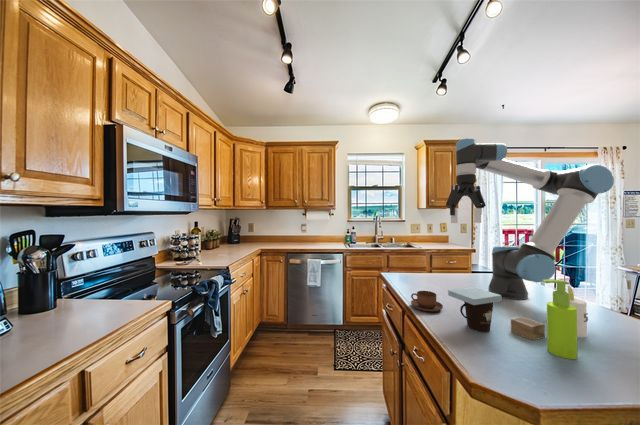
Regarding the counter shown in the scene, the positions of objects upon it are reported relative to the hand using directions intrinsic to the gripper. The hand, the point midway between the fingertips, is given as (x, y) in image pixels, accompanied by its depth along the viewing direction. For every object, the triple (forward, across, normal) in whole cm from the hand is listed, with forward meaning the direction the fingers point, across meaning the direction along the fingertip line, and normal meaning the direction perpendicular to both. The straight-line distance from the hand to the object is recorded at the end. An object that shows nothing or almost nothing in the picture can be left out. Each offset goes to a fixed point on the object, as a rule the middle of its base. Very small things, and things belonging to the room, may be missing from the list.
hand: (466, 223), depth 107 cm
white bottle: (+35, -8, +32) cm, 48 cm away
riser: (+35, +7, +28) cm, 45 cm away
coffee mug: (+35, +19, +19) cm, 44 cm away
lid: (+25, +19, +19) cm, 36 cm away
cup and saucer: (+35, +22, 0) cm, 41 cm away
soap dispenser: (+35, +10, +38) cm, 53 cm away
